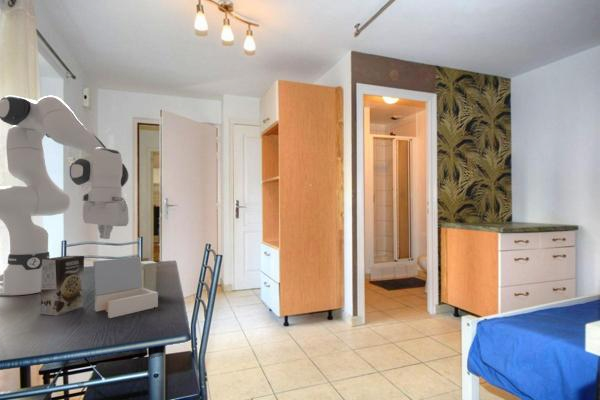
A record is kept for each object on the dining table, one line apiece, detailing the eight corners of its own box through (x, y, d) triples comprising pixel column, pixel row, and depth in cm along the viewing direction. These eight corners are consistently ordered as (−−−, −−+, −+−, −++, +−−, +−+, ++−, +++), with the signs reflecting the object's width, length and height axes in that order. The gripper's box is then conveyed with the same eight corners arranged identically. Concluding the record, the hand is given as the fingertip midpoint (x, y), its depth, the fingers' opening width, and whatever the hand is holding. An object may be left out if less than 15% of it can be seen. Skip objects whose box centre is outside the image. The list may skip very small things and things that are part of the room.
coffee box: (57, 316, 95) (58, 259, 96) (39, 314, 96) (40, 258, 97) (84, 306, 104) (85, 255, 104) (66, 305, 105) (68, 254, 106)
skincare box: (138, 295, 117) (138, 261, 118) (151, 293, 120) (152, 260, 120) (142, 299, 112) (143, 263, 113) (156, 297, 115) (157, 262, 116)
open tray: (94, 310, 100) (94, 295, 100) (140, 300, 111) (141, 287, 111) (110, 318, 93) (110, 302, 93) (157, 306, 104) (157, 292, 104)
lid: (96, 295, 100) (94, 295, 101) (142, 287, 111) (140, 287, 112) (94, 261, 101) (92, 261, 102) (140, 256, 112) (138, 256, 113)
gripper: (134, 197, 107) (133, 240, 107) (98, 196, 117) (97, 235, 117) (115, 196, 101) (113, 242, 101) (79, 196, 112) (78, 237, 111)
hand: (104, 238), depth 109 cm, fingers closed
